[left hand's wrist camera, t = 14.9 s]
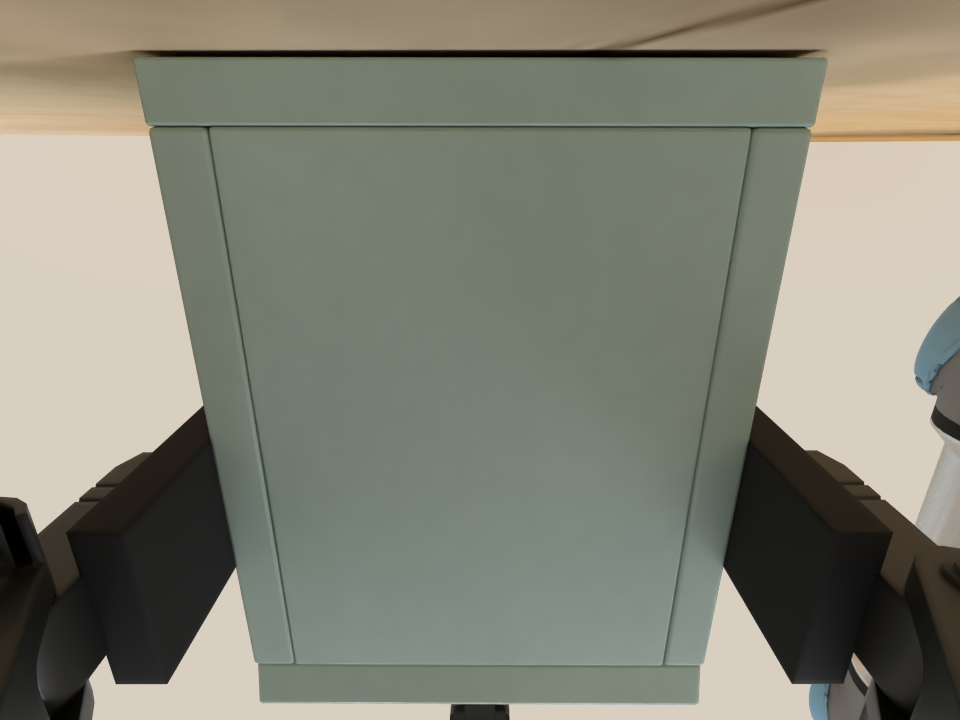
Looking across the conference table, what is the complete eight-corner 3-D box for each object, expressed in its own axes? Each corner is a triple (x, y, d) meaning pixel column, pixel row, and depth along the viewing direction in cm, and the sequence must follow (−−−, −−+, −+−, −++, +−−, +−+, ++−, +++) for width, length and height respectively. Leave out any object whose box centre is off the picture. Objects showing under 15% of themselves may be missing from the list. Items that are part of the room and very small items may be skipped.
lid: (566, 441, 29) (563, 588, 30) (394, 441, 29) (396, 587, 30) (702, 664, 11) (685, 1013, 12) (256, 662, 11) (271, 1010, 12)
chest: (587, 122, 24) (571, 358, 27) (375, 121, 24) (389, 358, 28) (830, 57, 7) (704, 667, 11) (129, 56, 7) (253, 665, 11)
